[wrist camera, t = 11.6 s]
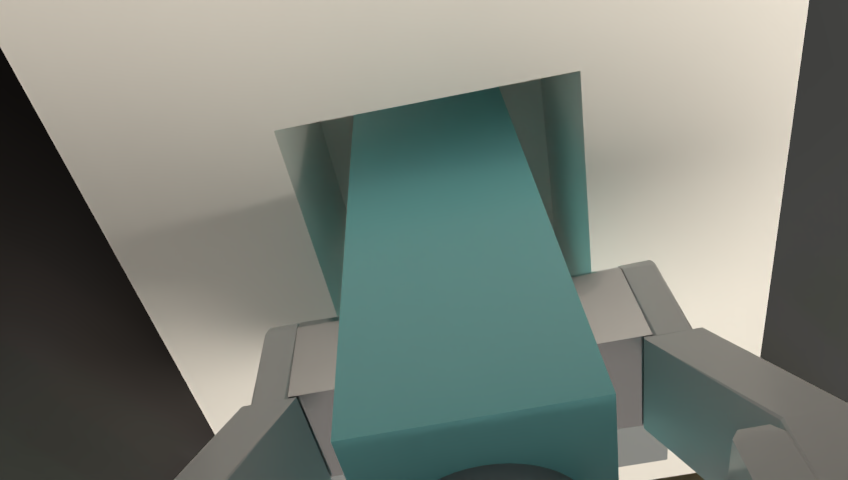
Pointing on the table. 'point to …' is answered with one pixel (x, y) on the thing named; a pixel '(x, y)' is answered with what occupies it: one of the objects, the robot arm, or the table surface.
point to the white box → (396, 86)
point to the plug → (461, 310)
